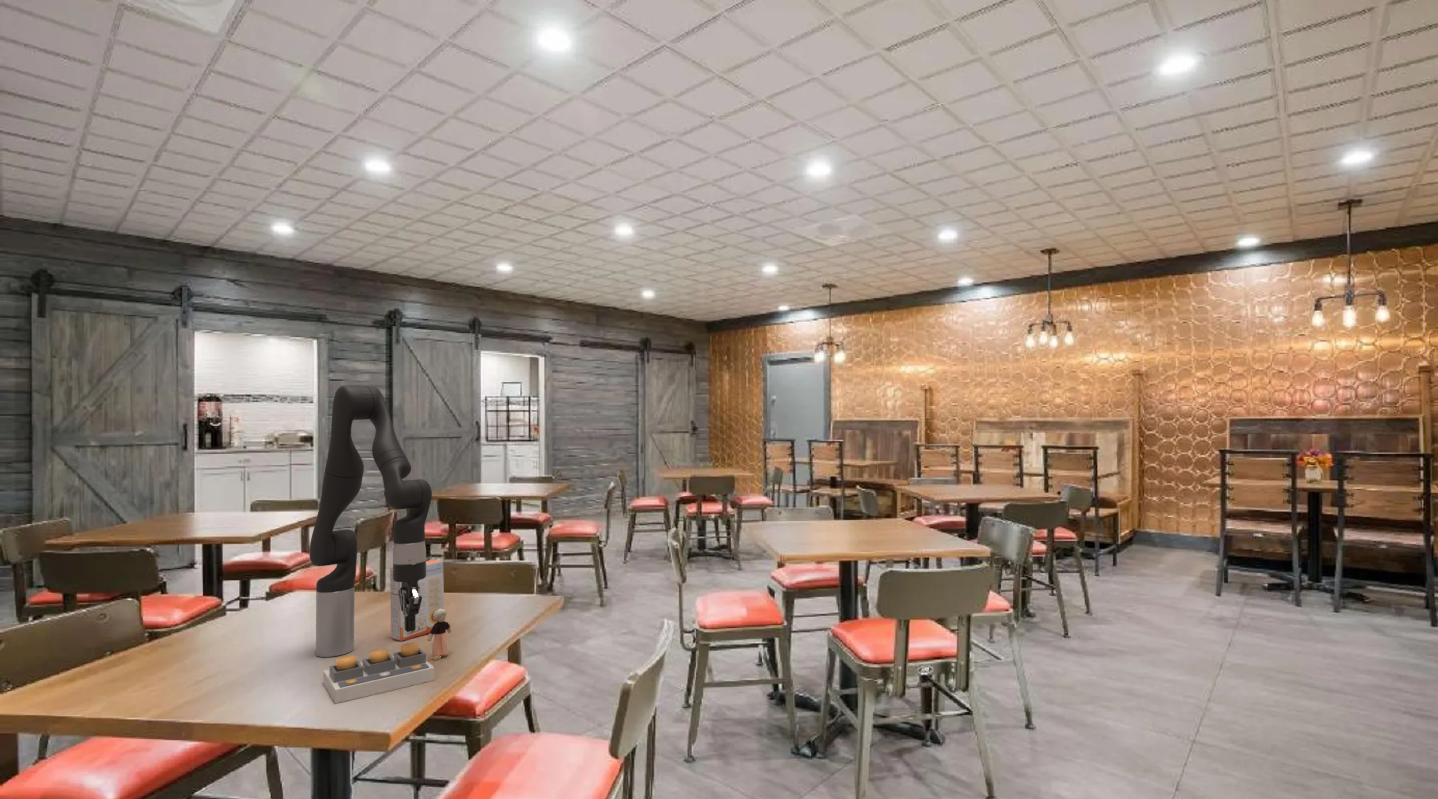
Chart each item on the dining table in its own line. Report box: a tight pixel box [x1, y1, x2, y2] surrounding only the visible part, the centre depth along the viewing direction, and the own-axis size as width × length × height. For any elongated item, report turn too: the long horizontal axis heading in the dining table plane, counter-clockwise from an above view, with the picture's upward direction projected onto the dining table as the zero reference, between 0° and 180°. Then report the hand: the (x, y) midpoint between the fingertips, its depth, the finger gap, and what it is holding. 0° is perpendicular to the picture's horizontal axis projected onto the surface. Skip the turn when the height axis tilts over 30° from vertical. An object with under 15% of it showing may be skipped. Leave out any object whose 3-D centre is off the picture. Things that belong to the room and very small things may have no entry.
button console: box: [322, 647, 435, 704], centre depth 162 cm, size 16×21×5 cm
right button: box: [400, 642, 420, 656], centre depth 167 cm, size 4×4×2 cm
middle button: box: [369, 648, 389, 663], centre depth 162 cm, size 4×4×2 cm
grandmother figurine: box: [426, 608, 452, 661], centre depth 180 cm, size 8×4×13 cm, turn 168°
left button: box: [336, 654, 357, 670], centre depth 158 cm, size 4×4×2 cm
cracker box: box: [389, 559, 445, 642], centre depth 201 cm, size 14×6×21 cm, turn 144°
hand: (410, 630), depth 167 cm, fingers closed
